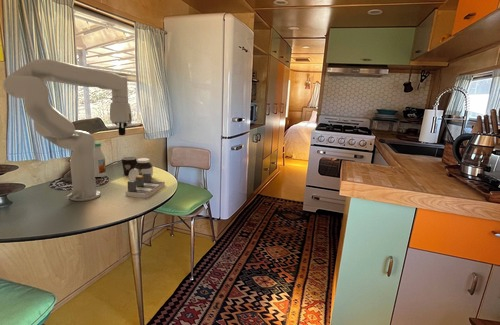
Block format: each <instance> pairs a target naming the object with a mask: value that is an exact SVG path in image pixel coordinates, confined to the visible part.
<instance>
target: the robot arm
mask: <svg viewBox="0 0 500 325" xmlns="http://www.w3.org/2000/svg"><path fill="white" fill-rule="evenodd" d="M46 82H53V83H59V84H65V85H73V86H76V87H84V88H85V87H86V88H97V89H101V90H107V91H111V97H110V98H109V99H110V101H112V102H110V107H109V121H110V122H111V123H112V124H113V125H116V127H117V128H118V135H119V136H125V135H126V128H127V126H129V125H132V120H133V118H132V110H131V105H130V103H129V91H128V90H129V89H128V78H127V77H126V76H124V75H120V74H117V73H114V72H110V71H106V70H105V71H104V70H100V69H95V68H90V67H86V66H81V65H77V64H72V63H68V62H64V61H60V60H56V59H42V58H41V59H40V58H39V59H33V60H31V61H29V62H28V63H26V64H24V65H23V66H21V67H20V68H19V69H17V70H15V71H14V72H12V73H10V74H9V75H8V76H6V78H5V79H4V80H3V88H4V91H5V92H6V93H7V94H8V95H9V96H12V97H14V98H17V99H24V102H23V103H24V108H25V112H26V114H27V116H28V117H29V119H31V120H32V121H34V122H33V126H34V130H35V131H36V132H37V133H38V135H40V136H41V137H43V138H44V139H46V140H47V141H48V142H50V143H52V144H53V145H55V146H56V147H58V148H61V149H63V150H69V151H72V152H71V155H70V160H69V164H70V165H69V166H70V173H71V185H72V189H71V190H70V191H71V192H70V193H69V194H66V195H65V199H66V200H72V201H75V202H85V201H90V200H94V199H98V198H99V197H100V196H101V192H100V190H97V182H96V181H97V180H96V179H97V178H95V166H94V148H95V143H96V140H95V139H96V138H95V137H94V136H93V135H92V134H91V133H90V132H87V131H84V130H79V129H76V127H75V125H74V123H73V122H72V121H71V120H70V119H69V118H67V116H65V115H64V114H63V113H61V112H60V111H58V110H57V109H56V108H55V107H53V105H52V104H51V103H50V98H49V95H50V93H49V92H50V91H49V86H48V85H47V83H46Z"/></svg>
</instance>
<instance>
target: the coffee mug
mask: <svg viewBox="0 0 500 325" xmlns="http://www.w3.org/2000/svg"><path fill="white" fill-rule="evenodd" d="M137 159H138V158H137V157H135V156H124V157H121V164H122V170H123V174H124V176H129V172H130V170H132V169H134V166H135V164H136V163H137Z"/></svg>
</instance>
